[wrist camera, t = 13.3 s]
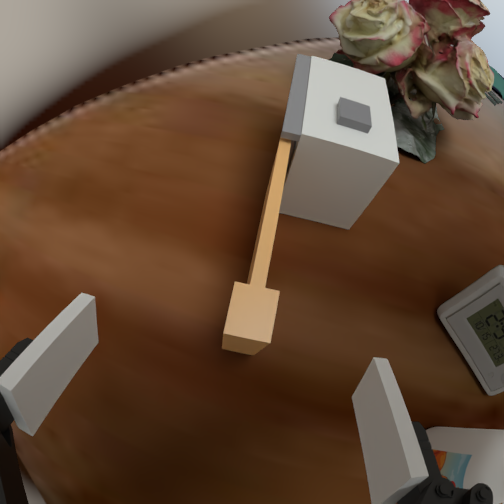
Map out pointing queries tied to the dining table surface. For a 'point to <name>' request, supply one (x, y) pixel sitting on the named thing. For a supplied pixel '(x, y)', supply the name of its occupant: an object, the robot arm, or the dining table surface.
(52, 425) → the dining table surface
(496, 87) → the cutlery set
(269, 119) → the dining table surface
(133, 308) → the dining table surface
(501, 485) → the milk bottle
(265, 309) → the tan long-handled part
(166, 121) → the dining table surface
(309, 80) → the box
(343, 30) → the rose bouquet
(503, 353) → the digital clock
